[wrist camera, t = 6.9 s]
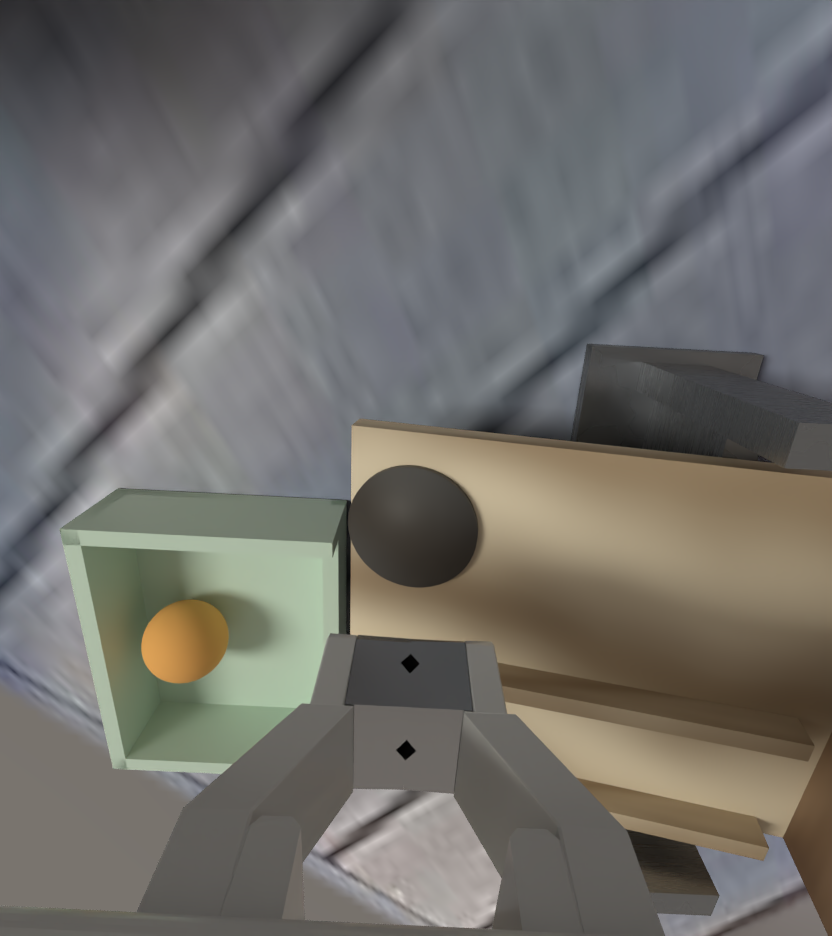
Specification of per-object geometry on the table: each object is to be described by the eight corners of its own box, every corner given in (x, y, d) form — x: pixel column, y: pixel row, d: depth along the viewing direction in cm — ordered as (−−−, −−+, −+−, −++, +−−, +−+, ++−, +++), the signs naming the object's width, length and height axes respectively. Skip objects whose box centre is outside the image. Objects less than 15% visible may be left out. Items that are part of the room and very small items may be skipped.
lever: (360, 418, 15) (293, 472, 11) (1108, 499, 12) (1437, 620, 8) (356, 724, 20) (307, 849, 16) (904, 842, 17) (1040, 1044, 12)
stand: (586, 343, 18) (717, 396, 10) (753, 352, 18) (1013, 412, 10) (525, 706, 24) (577, 918, 16) (650, 712, 24) (762, 927, 16)
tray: (117, 488, 20) (59, 529, 17) (346, 500, 20) (332, 542, 17) (154, 702, 24) (113, 768, 21) (346, 711, 24) (334, 779, 21)
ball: (182, 576, 22) (115, 619, 19) (242, 595, 21) (181, 644, 18) (189, 637, 23) (128, 686, 20) (247, 658, 22) (191, 713, 19)
